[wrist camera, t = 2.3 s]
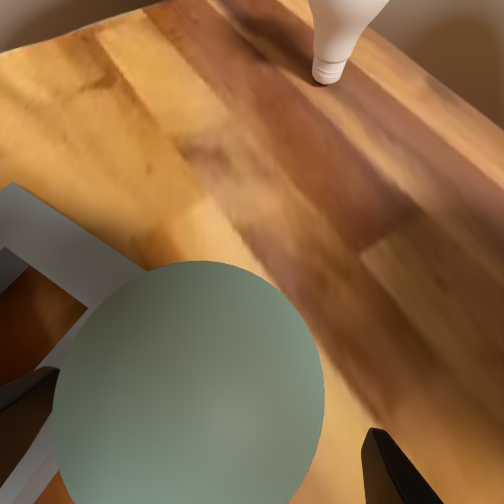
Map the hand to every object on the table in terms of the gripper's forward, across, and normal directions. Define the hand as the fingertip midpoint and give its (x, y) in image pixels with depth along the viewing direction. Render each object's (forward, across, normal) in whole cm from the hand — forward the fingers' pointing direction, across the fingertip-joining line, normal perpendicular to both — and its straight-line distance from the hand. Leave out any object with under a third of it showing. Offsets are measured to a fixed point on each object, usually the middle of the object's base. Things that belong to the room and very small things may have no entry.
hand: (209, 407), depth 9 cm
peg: (+6, 0, +6) cm, 9 cm away
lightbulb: (+25, -3, -12) cm, 28 cm away
